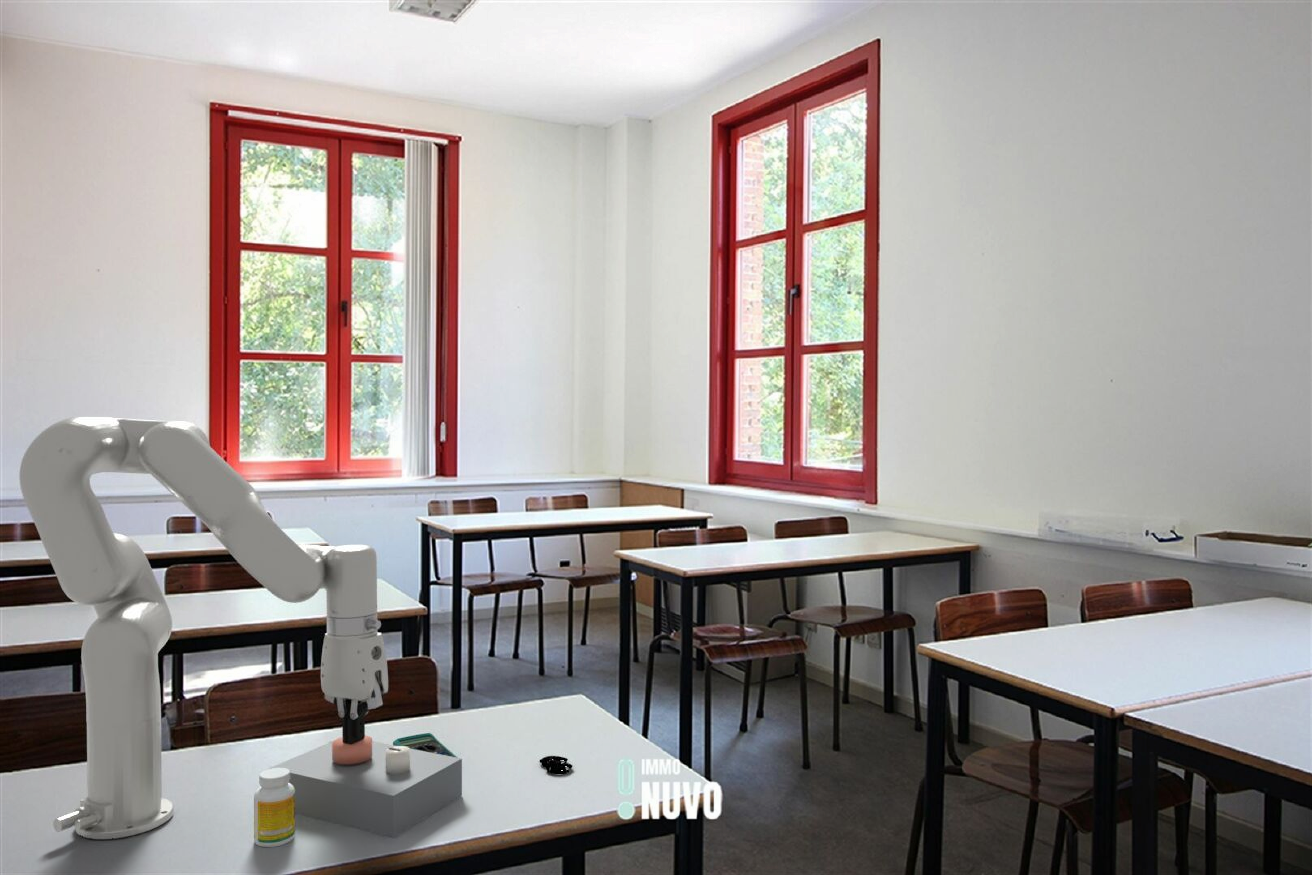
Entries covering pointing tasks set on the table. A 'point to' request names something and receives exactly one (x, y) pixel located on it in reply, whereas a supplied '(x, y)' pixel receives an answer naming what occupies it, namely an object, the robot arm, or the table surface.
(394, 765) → the knob
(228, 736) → the table surface
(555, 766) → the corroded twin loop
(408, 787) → the box
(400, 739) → the digital multimeter
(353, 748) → the button
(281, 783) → the supplement bottle
